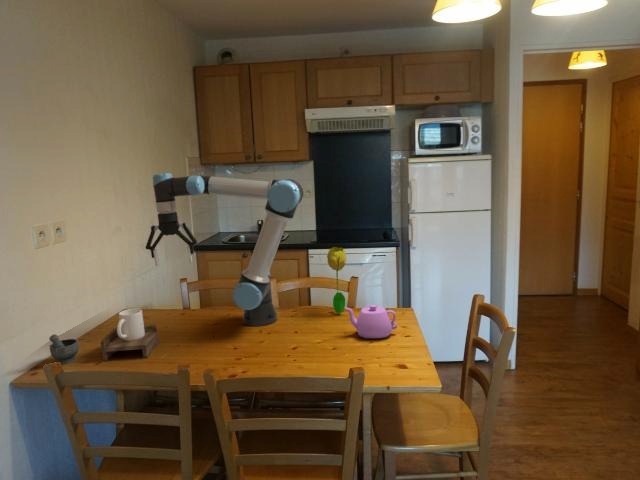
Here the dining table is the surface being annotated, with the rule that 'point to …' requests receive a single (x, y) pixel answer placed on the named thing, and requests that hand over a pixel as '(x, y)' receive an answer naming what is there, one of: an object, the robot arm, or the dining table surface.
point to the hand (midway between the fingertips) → (174, 263)
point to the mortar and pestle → (63, 349)
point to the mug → (131, 325)
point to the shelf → (130, 342)
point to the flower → (337, 263)
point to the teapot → (373, 322)
